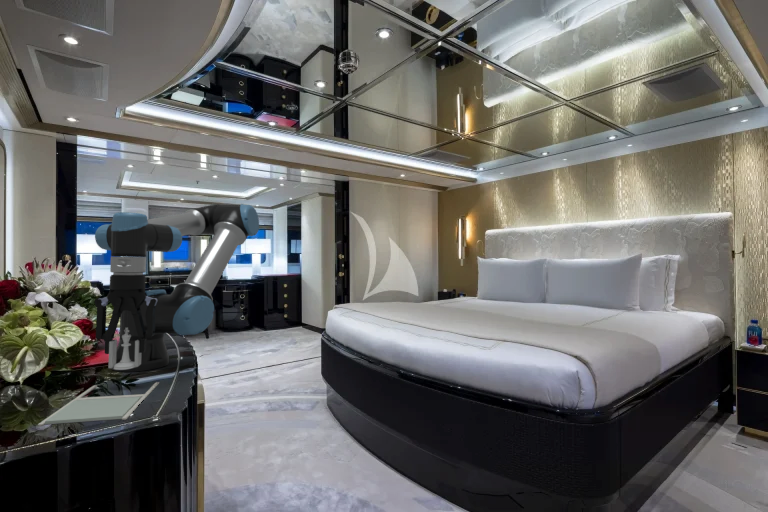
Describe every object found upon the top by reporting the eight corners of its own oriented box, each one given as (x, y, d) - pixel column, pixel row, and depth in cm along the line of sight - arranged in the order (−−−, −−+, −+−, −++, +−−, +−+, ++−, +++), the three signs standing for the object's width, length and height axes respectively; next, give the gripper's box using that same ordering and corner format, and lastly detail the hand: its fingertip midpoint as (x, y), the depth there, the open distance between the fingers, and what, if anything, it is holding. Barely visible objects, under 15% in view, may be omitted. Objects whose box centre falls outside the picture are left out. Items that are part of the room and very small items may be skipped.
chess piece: (119, 371, 95) (120, 330, 95) (109, 367, 97) (111, 327, 97) (140, 366, 99) (142, 327, 99) (131, 363, 101) (132, 325, 101)
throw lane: (93, 386, 98) (93, 384, 98) (159, 383, 103) (159, 381, 103) (37, 425, 74) (38, 422, 74) (126, 419, 79) (126, 416, 79)
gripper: (79, 273, 92) (75, 372, 92) (164, 275, 97) (161, 368, 97) (93, 272, 99) (89, 364, 99) (171, 273, 104) (168, 360, 104)
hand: (125, 365), depth 98 cm, fingers closed on chess piece, 5 cm apart
